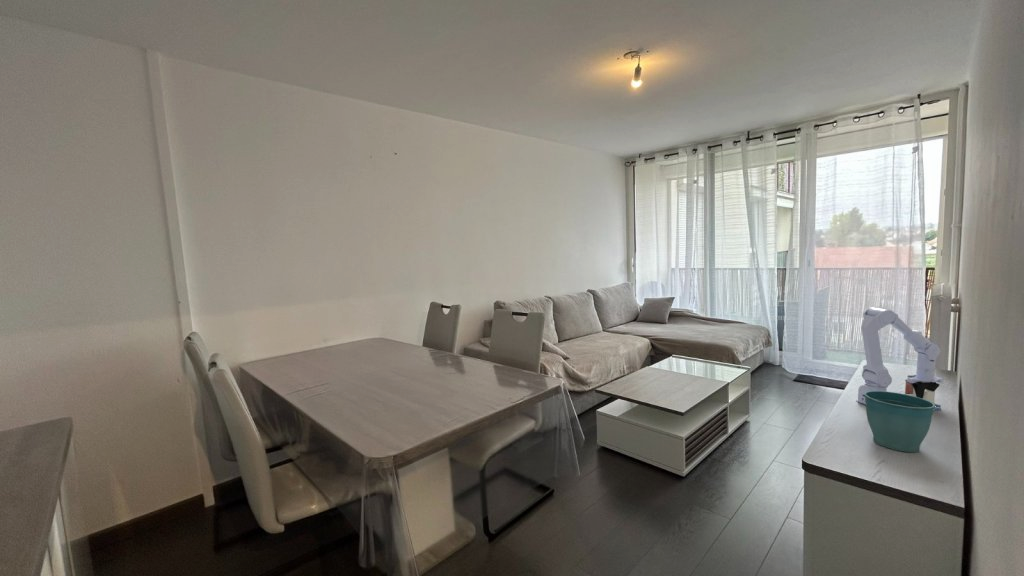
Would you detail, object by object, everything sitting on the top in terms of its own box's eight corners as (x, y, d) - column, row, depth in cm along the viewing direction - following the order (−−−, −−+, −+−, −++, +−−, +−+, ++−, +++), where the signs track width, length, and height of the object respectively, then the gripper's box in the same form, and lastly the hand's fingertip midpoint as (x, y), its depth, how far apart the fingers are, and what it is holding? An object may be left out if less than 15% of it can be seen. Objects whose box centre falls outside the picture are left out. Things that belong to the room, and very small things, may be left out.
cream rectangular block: (926, 407, 179) (927, 392, 179) (912, 402, 185) (913, 387, 185) (933, 407, 179) (935, 392, 179) (919, 402, 185) (920, 387, 185)
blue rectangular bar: (930, 410, 177) (930, 408, 177) (927, 409, 178) (927, 407, 178) (940, 409, 177) (941, 408, 177) (938, 408, 178) (938, 407, 178)
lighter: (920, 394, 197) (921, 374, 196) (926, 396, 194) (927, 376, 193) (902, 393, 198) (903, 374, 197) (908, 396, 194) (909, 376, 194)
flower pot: (861, 429, 157) (863, 387, 156) (927, 443, 145) (930, 397, 144) (862, 446, 143) (865, 400, 142) (935, 462, 131) (939, 412, 130)
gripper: (919, 371, 177) (917, 401, 178) (951, 370, 177) (948, 400, 178) (903, 367, 184) (901, 396, 185) (933, 366, 184) (931, 395, 185)
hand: (923, 398), depth 182 cm, fingers closed on cream rectangular block, 3 cm apart
